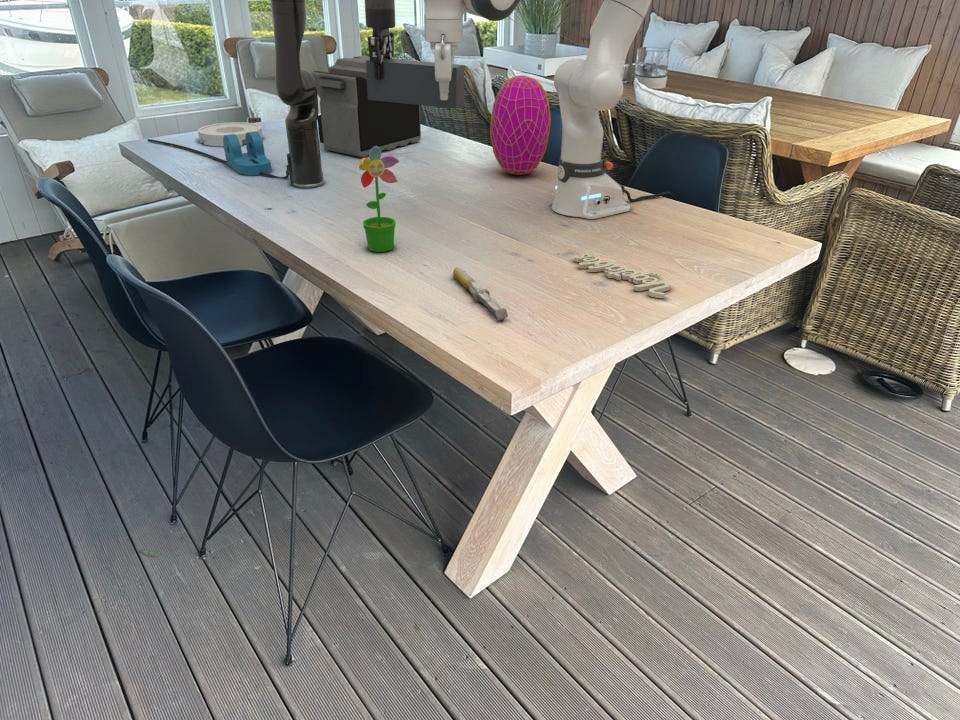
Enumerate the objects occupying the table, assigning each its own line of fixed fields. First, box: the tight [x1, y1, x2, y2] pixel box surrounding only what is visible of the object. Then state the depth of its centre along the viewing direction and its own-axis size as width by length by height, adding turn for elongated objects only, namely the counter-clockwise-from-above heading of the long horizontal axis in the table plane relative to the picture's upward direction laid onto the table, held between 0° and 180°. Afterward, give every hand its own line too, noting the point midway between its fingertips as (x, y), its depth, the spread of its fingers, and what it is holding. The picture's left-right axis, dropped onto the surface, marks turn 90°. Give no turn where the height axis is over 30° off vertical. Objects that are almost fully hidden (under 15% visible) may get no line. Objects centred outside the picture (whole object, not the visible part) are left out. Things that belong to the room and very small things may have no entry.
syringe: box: [452, 266, 509, 321], centre depth 145 cm, size 25×4×3 cm, turn 21°
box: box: [366, 58, 466, 110], centre depth 180 cm, size 25×6×10 cm, turn 70°
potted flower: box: [358, 146, 400, 253], centre depth 162 cm, size 9×8×25 cm
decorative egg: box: [489, 75, 552, 176], centre depth 220 cm, size 19×19×30 cm
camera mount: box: [223, 131, 272, 176], centre depth 226 cm, size 18×10×10 cm, turn 35°
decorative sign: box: [574, 252, 671, 299], centre depth 155 cm, size 26×1×10 cm
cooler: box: [310, 55, 422, 159], centre depth 250 cm, size 37×22×30 cm, turn 144°
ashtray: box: [197, 121, 264, 147], centre depth 263 cm, size 23×23×4 cm
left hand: (383, 77), depth 182 cm, fingers closed on box, 6 cm apart
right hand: (444, 96), depth 165 cm, fingers open, 8 cm apart
